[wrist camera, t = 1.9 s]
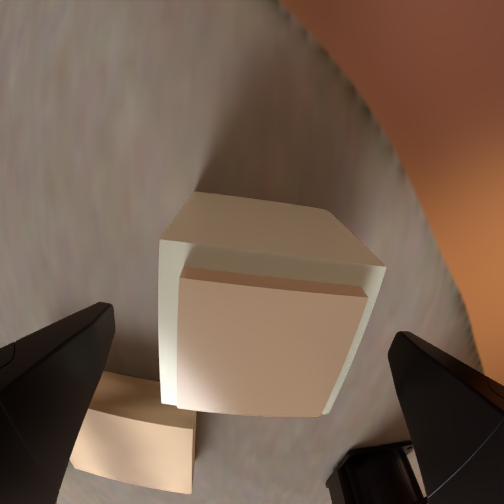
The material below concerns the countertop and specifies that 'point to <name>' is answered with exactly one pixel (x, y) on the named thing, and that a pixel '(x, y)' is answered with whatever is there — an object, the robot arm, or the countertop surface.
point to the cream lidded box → (260, 306)
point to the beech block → (136, 436)
